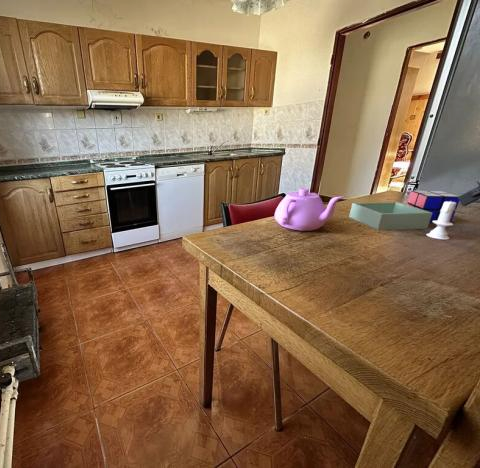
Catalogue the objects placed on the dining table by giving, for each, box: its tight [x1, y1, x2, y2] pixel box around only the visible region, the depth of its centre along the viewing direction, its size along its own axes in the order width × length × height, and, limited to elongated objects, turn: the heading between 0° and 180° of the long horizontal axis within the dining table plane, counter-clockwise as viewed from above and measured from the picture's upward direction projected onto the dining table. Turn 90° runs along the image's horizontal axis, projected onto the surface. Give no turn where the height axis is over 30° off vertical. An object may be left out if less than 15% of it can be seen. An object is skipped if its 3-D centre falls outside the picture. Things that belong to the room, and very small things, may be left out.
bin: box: [348, 201, 432, 231], centre depth 96 cm, size 17×15×6 cm
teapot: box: [274, 188, 344, 232], centre depth 92 cm, size 22×22×14 cm
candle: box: [426, 201, 456, 241], centre depth 81 cm, size 5×5×12 cm
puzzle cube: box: [406, 190, 460, 223], centre depth 98 cm, size 10×10×10 cm
